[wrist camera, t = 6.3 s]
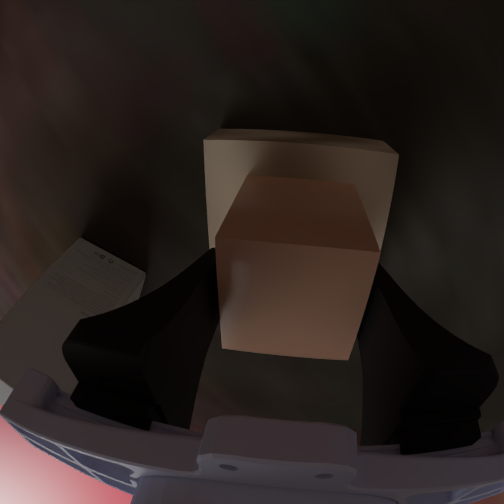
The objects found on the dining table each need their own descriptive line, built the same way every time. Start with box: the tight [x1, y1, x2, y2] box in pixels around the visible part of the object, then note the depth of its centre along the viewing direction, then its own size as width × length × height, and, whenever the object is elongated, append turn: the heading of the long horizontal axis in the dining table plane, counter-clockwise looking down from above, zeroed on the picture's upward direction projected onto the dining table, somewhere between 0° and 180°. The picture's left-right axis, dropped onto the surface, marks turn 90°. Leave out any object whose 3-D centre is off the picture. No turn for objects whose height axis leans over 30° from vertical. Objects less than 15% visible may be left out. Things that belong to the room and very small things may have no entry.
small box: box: [0, 238, 146, 406], centre depth 19 cm, size 8×6×13 cm
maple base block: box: [204, 129, 399, 251], centre depth 17 cm, size 9×9×4 cm
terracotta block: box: [215, 175, 381, 360], centre depth 13 cm, size 5×5×6 cm
